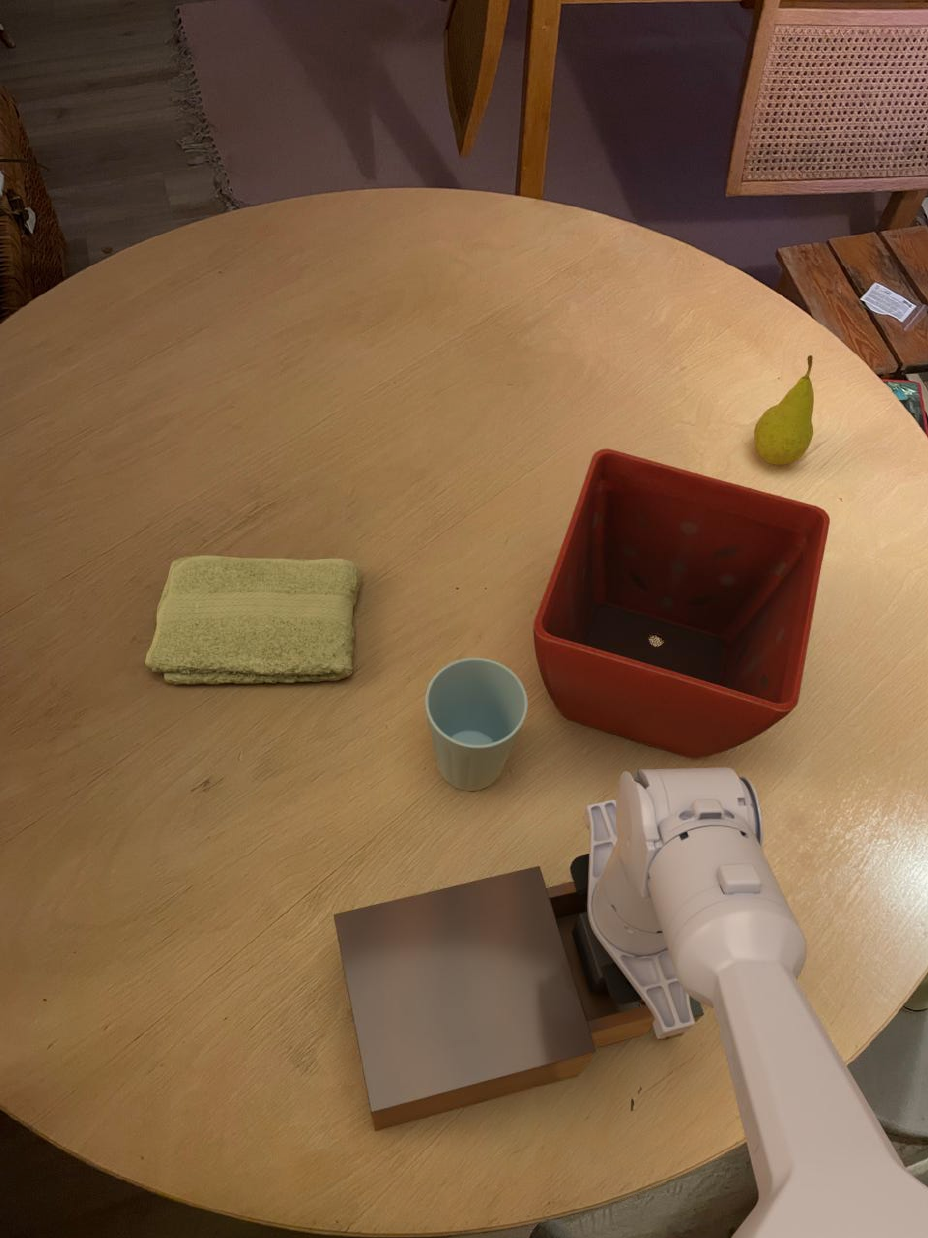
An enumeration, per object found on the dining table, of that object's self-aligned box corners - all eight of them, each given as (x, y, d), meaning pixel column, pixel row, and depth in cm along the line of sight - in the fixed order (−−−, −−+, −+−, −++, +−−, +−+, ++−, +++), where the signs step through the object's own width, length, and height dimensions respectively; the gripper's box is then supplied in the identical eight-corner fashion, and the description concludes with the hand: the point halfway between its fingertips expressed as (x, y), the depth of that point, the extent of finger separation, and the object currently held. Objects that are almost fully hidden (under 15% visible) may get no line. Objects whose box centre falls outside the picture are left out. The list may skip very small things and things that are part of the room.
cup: (434, 813, 83) (437, 756, 75) (414, 730, 87) (415, 666, 79) (525, 794, 85) (539, 736, 76) (501, 713, 89) (512, 649, 80)
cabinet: (527, 904, 80) (539, 865, 72) (578, 1076, 73) (596, 1051, 66) (340, 950, 77) (333, 914, 70) (374, 1131, 71) (371, 1113, 63)
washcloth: (171, 564, 96) (164, 543, 93) (363, 570, 96) (361, 549, 94) (146, 688, 88) (138, 669, 86) (353, 694, 89) (352, 675, 86)
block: (650, 979, 72) (663, 961, 68) (590, 994, 71) (600, 978, 68) (629, 918, 74) (640, 898, 71) (571, 932, 74) (579, 913, 70)
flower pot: (733, 810, 85) (797, 714, 71) (510, 739, 87) (529, 632, 73) (770, 625, 95) (833, 508, 81) (569, 567, 97) (596, 444, 83)
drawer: (679, 872, 81) (700, 839, 75) (736, 1021, 75) (763, 998, 69) (459, 925, 78) (463, 896, 72) (500, 1085, 72) (507, 1067, 66)
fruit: (765, 485, 104) (803, 398, 94) (734, 445, 107) (768, 356, 97) (812, 469, 106) (855, 382, 96) (781, 429, 108) (818, 341, 98)
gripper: (765, 993, 57) (706, 1043, 69) (672, 759, 65) (633, 840, 76) (645, 1025, 56) (605, 1071, 67) (564, 783, 64) (541, 861, 75)
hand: (613, 950), depth 72 cm, fingers closed on block, 4 cm apart
